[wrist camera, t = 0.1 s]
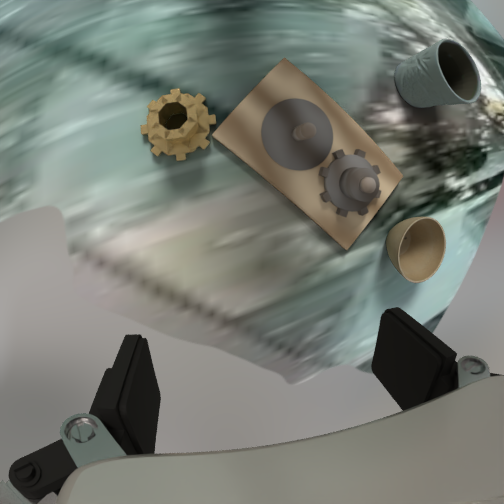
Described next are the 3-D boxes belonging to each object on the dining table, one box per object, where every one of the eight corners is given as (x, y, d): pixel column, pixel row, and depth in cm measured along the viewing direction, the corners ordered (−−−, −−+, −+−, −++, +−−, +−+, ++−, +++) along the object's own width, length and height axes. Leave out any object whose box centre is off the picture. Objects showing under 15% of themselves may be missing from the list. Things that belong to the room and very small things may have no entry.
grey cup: (391, 103, 39) (440, 91, 28) (387, 49, 36) (431, 27, 25) (435, 116, 41) (484, 111, 29) (431, 66, 38) (476, 52, 26)
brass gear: (175, 78, 34) (169, 60, 27) (230, 119, 37) (235, 108, 30) (128, 133, 35) (113, 127, 29) (183, 175, 38) (178, 176, 31)
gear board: (281, 61, 35) (296, 42, 28) (397, 175, 42) (426, 178, 35) (211, 136, 37) (212, 128, 30) (342, 247, 44) (365, 261, 37)
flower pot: (424, 249, 47) (450, 261, 40) (383, 278, 47) (407, 295, 40) (410, 199, 44) (438, 205, 37) (365, 227, 44) (390, 238, 37)
